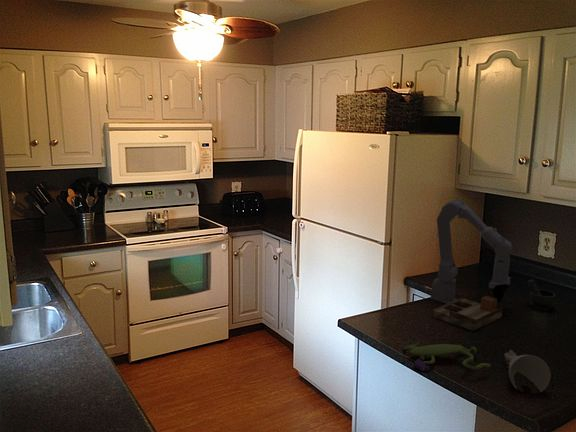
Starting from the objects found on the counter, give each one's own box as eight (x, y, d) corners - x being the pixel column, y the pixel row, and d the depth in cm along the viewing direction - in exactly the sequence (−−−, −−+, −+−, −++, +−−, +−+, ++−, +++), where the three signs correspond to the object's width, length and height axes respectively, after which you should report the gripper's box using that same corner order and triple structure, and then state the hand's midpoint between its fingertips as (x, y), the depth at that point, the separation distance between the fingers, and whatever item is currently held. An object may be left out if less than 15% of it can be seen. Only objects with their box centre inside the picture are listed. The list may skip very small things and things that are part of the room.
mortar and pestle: (554, 307, 222) (557, 280, 220) (553, 314, 214) (557, 286, 212) (525, 302, 227) (528, 275, 225) (523, 308, 219) (527, 281, 217)
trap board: (431, 316, 208) (432, 305, 207) (461, 304, 223) (462, 293, 222) (473, 331, 195) (474, 319, 194) (501, 317, 209) (502, 305, 208)
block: (480, 308, 210) (481, 297, 209) (485, 305, 213) (486, 295, 212) (490, 311, 207) (491, 301, 206) (496, 309, 210) (497, 298, 209)
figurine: (490, 383, 159) (492, 366, 158) (401, 370, 165) (402, 354, 164) (483, 356, 177) (485, 341, 175) (403, 346, 183) (404, 331, 182)
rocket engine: (510, 334, 171) (529, 347, 153) (536, 359, 170) (559, 375, 152) (485, 359, 172) (501, 374, 154) (511, 384, 171) (531, 402, 153)
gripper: (502, 275, 204) (498, 308, 207) (519, 268, 214) (515, 300, 217) (485, 271, 209) (481, 303, 212) (502, 264, 219) (499, 295, 222)
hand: (497, 301), depth 215 cm, fingers closed
